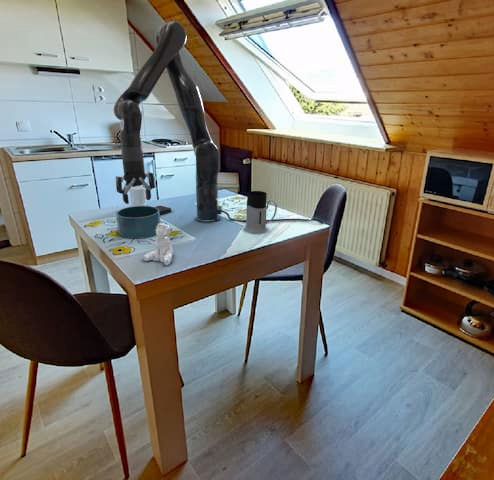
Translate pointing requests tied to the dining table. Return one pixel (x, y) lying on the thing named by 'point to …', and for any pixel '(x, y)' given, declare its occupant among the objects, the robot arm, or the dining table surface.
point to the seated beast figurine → (161, 245)
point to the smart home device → (163, 209)
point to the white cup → (137, 196)
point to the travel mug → (257, 212)
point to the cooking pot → (137, 221)
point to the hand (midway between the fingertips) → (137, 201)
